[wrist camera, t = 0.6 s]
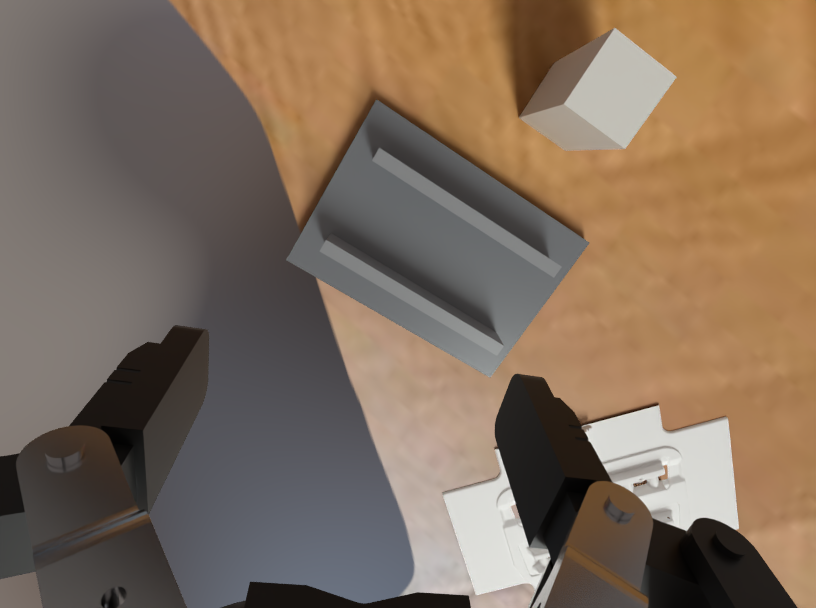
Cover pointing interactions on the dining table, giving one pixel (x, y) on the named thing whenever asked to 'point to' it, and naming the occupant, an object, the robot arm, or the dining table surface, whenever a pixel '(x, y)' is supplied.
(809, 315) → the dining table surface
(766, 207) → the dining table surface
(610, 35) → the block
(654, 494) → the tray
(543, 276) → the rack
